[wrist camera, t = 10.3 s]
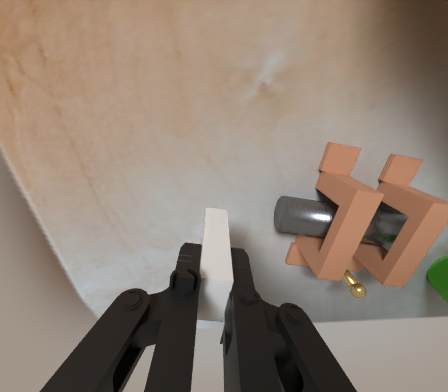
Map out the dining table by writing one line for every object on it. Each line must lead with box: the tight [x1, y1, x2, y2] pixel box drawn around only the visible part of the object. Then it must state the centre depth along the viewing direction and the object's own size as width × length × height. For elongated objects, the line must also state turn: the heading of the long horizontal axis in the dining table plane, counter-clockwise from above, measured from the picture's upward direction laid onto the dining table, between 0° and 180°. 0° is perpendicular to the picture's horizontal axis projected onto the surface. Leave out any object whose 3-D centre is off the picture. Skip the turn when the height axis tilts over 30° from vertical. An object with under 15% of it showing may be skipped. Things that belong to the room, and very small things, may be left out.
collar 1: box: [285, 142, 385, 281], centre depth 21 cm, size 15×3×6 cm, turn 170°
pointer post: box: [342, 269, 366, 298], centre depth 23 cm, size 2×2×6 cm
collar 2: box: [347, 154, 448, 288], centre depth 22 cm, size 15×3×6 cm, turn 170°
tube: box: [274, 196, 409, 246], centre depth 23 cm, size 16×4×4 cm, turn 79°
